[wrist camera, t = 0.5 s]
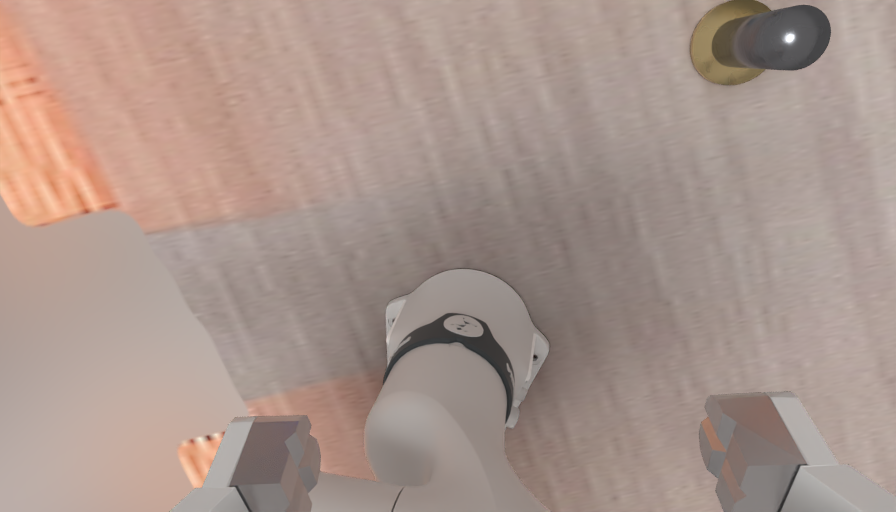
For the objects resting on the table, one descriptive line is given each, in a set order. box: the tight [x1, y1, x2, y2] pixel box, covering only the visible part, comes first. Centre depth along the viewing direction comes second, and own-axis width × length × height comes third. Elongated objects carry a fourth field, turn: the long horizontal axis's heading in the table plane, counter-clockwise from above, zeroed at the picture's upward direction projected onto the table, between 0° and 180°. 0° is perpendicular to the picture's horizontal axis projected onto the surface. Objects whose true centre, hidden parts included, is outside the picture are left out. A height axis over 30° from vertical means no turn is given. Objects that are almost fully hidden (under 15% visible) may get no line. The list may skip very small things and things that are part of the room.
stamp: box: [690, 0, 831, 85], centre depth 43 cm, size 7×7×14 cm
